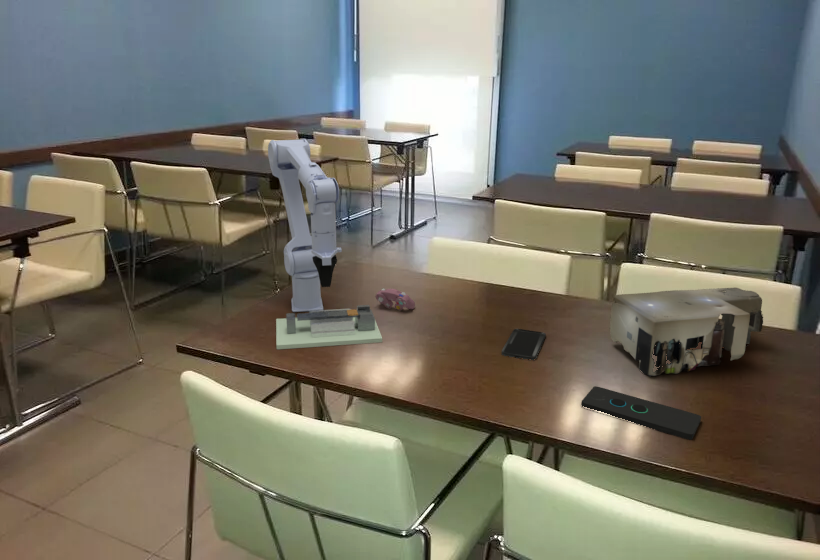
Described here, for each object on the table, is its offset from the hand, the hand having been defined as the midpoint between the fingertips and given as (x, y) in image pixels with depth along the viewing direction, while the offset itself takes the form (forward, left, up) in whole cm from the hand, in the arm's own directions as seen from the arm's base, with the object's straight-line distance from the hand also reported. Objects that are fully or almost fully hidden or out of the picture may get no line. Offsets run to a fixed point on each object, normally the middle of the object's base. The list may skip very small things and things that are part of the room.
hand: (325, 286), depth 154 cm
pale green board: (+4, 0, -10) cm, 11 cm away
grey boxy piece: (+28, +77, -11) cm, 83 cm away
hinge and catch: (+4, +1, -9) cm, 10 cm away
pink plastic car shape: (-9, +19, -11) cm, 24 cm away
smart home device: (+52, +54, -11) cm, 76 cm away
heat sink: (+4, +1, -9) cm, 10 cm away
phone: (+19, +44, -11) cm, 49 cm away
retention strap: (+4, +1, -6) cm, 7 cm away
